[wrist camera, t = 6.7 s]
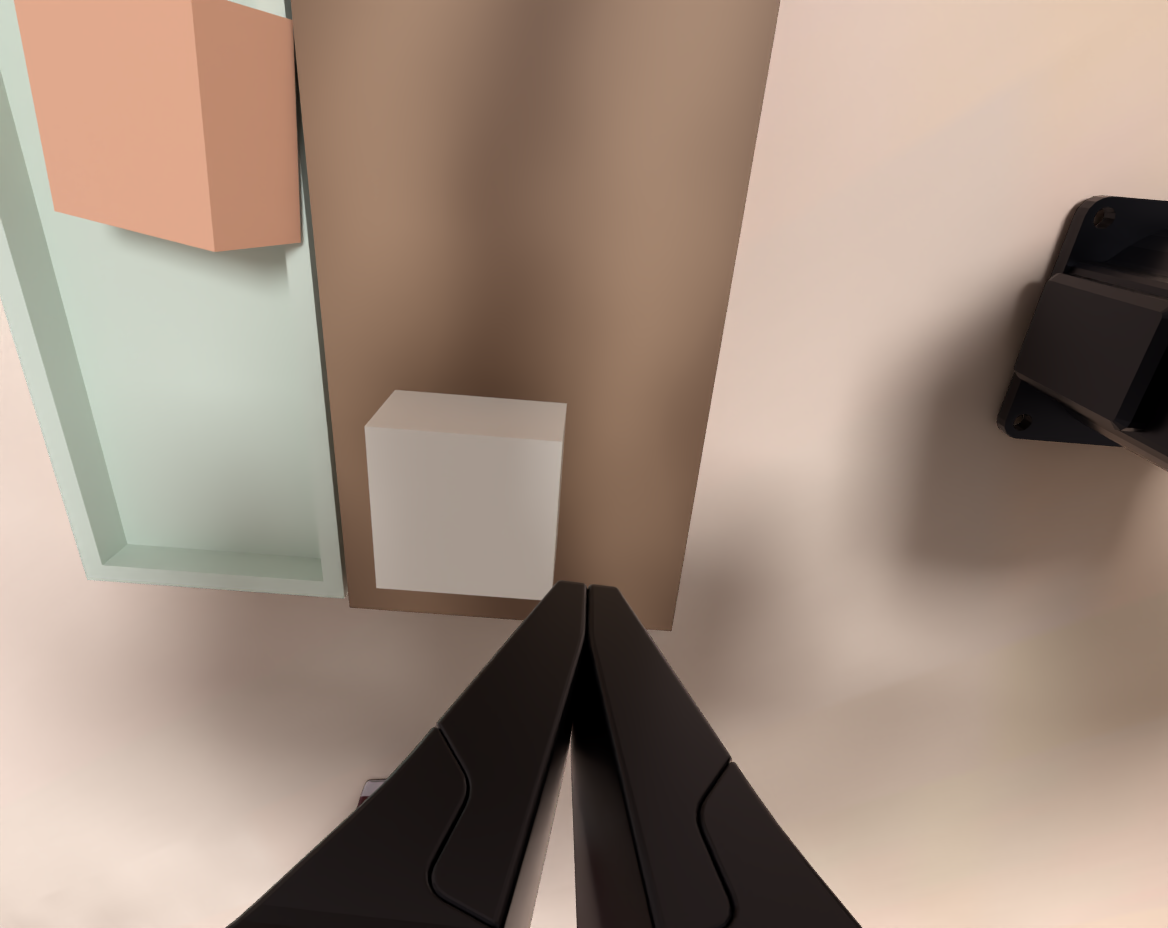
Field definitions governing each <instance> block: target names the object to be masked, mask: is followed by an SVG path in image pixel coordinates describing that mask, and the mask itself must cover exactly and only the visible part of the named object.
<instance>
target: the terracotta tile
mask: <svg viewBox="0 0 1168 928" xmlns="http://www.w3.org/2000/svg"><path fill="white" fill-rule="evenodd" d="M14 4H15V10H16V15H17V20H18V25H19V30H20V35H21V41H22V46H23V51H24V56H25V61H26V66H27V72H28V77H29V82H30V87H31V92H32V97H33V103H34V108H35V113H36V118H37V123H38V128H39V134H40V139H41V144H42V149H43V154H44V159H45V164H46V170H47V175H48V180H49V185H50V190H51V195H52V201H53V206H54V211H56V212H60V213H64V214H68V215H72V216H76V217H80V218H84V219H87V220H91V221H95V222H99V223H103V224H107V225H111V226H115V227H119V228H123V229H127V230H130V231H134V232H138V233H142V234H146V235H150V236H154V237H158V238H162V239H166V240H170V241H173V242H177V243H181V244H185V245H189V246H193V247H197V248H201V249H205V250H209V251H213V252H220V251H229V250H238V249H247V248H256V247H265V246H274V245H283V244H292V243H301V231H300V204H299V176H298V149H297V121H296V94H295V67H294V39H293V20H291V19H288V18H284V17H281V16H278V15H274V14H271V13H268V12H264V11H261V10H258V9H254V8H251V7H248V6H244V5H241V4H238V3H234V2H231V1H228V0H14Z"/></svg>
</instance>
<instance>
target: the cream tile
mask: <svg viewBox="0 0 1168 928" xmlns="http://www.w3.org/2000/svg"><path fill="white" fill-rule="evenodd" d="M566 409H567V403H555V402H542V401H530V400H517V399H504V398H492V397H479V396H467V395H454V394H442V393H429V392H417V391H404V390H395V391H394V392H393V393H392V394H391V395H390V397H389V398H388V399H387V400H386V401H385V402H384V404H383V405H382V406H381V407H380V408H379V410H378V411H377V412H376V413H375V414H374V416H373V417H372V418H371V419H370V420H369V421H368V423H367V424H366V425H365V426H364V427H365V440H366V454H367V467H368V481H369V494H370V508H371V521H372V535H373V548H374V562H375V575H376V588H383V589H396V590H410V591H423V592H437V593H450V594H464V595H477V596H491V597H504V598H518V599H531V600H542V599H543V598H544V596H545V595H546V594H547V593H548V592H549V591H550V589H551V588H552V587H553V579H554V569H555V559H556V549H557V536H558V522H559V508H560V494H561V480H562V465H563V451H564V437H565V423H566Z"/></svg>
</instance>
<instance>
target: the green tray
mask: <svg viewBox="0 0 1168 928" xmlns="http://www.w3.org/2000/svg"><path fill="white" fill-rule="evenodd" d="M228 1H231V2H234V3H238V4H241V5H244V6H248V7H251V8H254V9H258V10H261V11H264V12H268V13H271V14H274V15H278V16H281V17H284V18H288V19H291V20H292V10H291V0H228ZM293 39H294V31H293ZM294 67H295V94H296V121H297V149H298V176H299V204H300V231H301V243H292V244H283V245H274V246H265V247H256V248H247V249H238V250H229V251H220V252H213V251H209V250H205V249H201V248H197V247H193V246H189V245H185V244H181V243H177V242H173V241H170V240H166V239H162V238H158V237H154V236H150V235H146V234H142V233H138V232H134V231H130V230H127V229H123V228H119V227H115V226H111V225H107V224H103V223H99V222H95V221H91V220H87V219H84V218H80V217H76V216H72V215H68V214H64V213H60V212H56V211H54V206H53V201H52V195H51V190H50V185H49V180H48V175H47V170H46V164H45V159H44V154H43V149H42V144H41V139H40V134H39V128H38V123H37V118H36V113H35V108H34V103H33V97H32V92H31V87H30V82H29V77H28V72H27V66H26V61H25V56H24V51H23V46H22V41H21V35H20V30H19V25H18V20H17V15H16V10H15V4H14V0H0V298H1V301H2V304H3V307H4V311H5V314H6V317H7V320H8V324H9V327H10V330H11V333H12V337H13V340H14V343H15V346H16V350H17V353H18V356H19V359H20V363H21V366H22V369H23V372H24V376H25V379H26V382H27V385H28V389H29V392H30V395H31V398H32V402H33V405H34V408H35V411H36V415H37V418H38V421H39V424H40V427H41V431H42V434H43V437H44V440H45V444H46V447H47V450H48V453H49V457H50V460H51V463H52V466H53V470H54V473H55V476H56V479H57V483H58V486H59V489H60V492H61V496H62V499H63V502H64V505H65V509H66V512H67V515H68V518H69V522H70V525H71V528H72V531H73V535H74V538H75V541H76V544H77V548H78V551H79V554H80V557H81V561H82V564H83V567H84V570H85V574H86V577H87V580H97V581H111V582H124V583H138V584H152V585H165V586H179V587H192V588H206V589H219V590H233V591H247V592H260V593H274V594H287V595H301V596H315V597H328V598H342V599H345V597H346V595H347V593H348V585H347V575H346V565H345V554H344V544H343V534H342V524H341V513H340V503H339V493H338V483H337V472H336V462H335V452H334V441H333V431H332V421H331V411H330V400H329V390H328V380H327V370H326V359H325V349H324V339H323V328H322V318H321V308H320V298H319V287H318V277H317V267H316V257H315V246H314V236H313V226H312V216H311V205H310V195H309V185H308V174H307V164H306V154H305V144H304V133H303V123H302V113H301V103H300V92H299V82H298V72H297V61H296V51H295V41H294Z"/></svg>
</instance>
